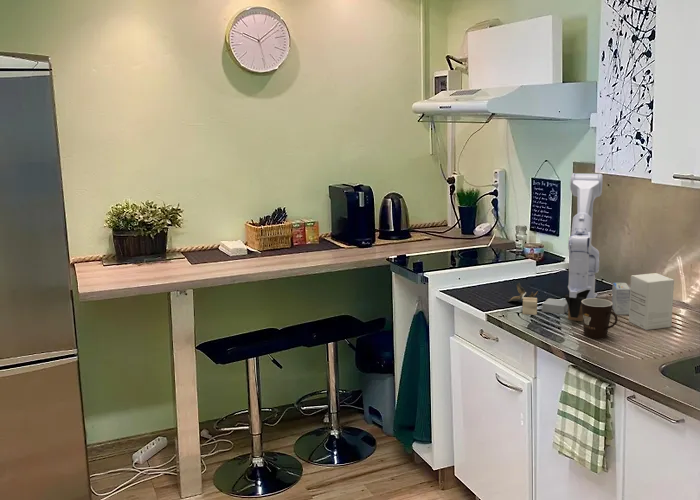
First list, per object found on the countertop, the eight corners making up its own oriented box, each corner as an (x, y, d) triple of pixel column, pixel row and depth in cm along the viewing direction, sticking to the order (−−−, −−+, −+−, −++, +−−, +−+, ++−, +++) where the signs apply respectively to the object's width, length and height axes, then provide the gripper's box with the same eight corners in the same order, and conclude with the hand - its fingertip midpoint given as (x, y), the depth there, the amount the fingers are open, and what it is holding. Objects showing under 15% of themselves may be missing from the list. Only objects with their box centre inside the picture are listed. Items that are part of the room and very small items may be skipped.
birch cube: (522, 310, 232) (523, 297, 231) (536, 310, 231) (537, 297, 230) (522, 314, 228) (522, 301, 227) (536, 315, 227) (537, 301, 226)
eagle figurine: (540, 299, 240) (518, 289, 246) (536, 285, 235) (514, 276, 241) (526, 314, 237) (505, 304, 243) (523, 300, 232) (501, 291, 239)
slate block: (548, 306, 236) (548, 298, 235) (569, 309, 232) (569, 300, 232) (542, 312, 230) (542, 303, 229) (563, 315, 226) (563, 306, 226)
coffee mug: (576, 330, 211) (577, 298, 209) (605, 329, 210) (607, 297, 208) (588, 343, 199) (589, 310, 197) (618, 343, 199) (620, 309, 197)
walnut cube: (571, 315, 225) (571, 302, 224) (585, 317, 223) (586, 303, 222) (567, 319, 221) (568, 306, 220) (582, 321, 219) (583, 307, 218)
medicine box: (629, 315, 223) (631, 289, 222) (615, 314, 224) (616, 288, 222) (625, 307, 231) (626, 282, 229) (611, 307, 232) (612, 282, 230)
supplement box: (653, 318, 219) (656, 272, 216) (672, 327, 211) (675, 279, 208) (627, 321, 218) (630, 274, 214) (645, 330, 209) (648, 281, 206)
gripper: (587, 279, 211) (585, 322, 214) (596, 268, 223) (594, 309, 226) (563, 276, 214) (561, 319, 217) (573, 266, 226) (572, 306, 229)
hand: (576, 313), depth 222 cm, fingers open, 7 cm apart
